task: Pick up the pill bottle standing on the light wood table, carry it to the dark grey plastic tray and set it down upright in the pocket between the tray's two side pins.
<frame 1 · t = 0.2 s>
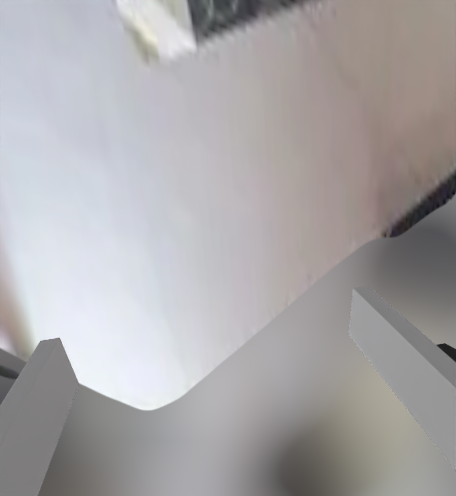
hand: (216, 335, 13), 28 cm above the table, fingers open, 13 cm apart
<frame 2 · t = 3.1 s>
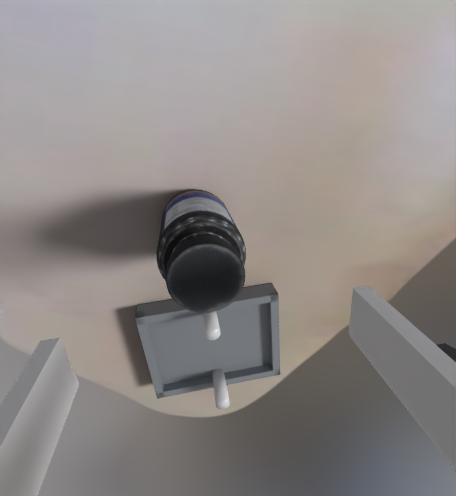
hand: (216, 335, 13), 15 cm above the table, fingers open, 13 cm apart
pill bottle: (195, 220, 27), on the table
tray: (212, 334, 33), on the table
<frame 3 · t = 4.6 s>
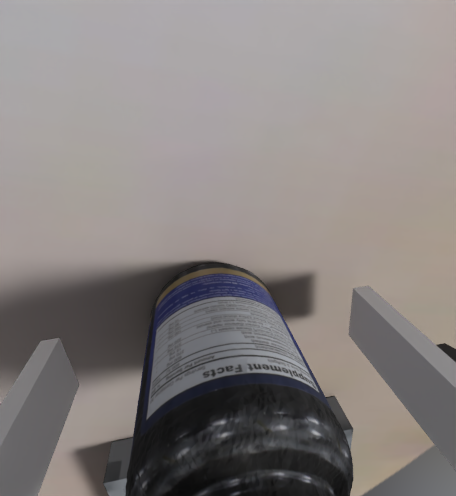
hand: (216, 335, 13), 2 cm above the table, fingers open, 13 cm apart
pill bottle: (212, 310, 15), on the table
tray: (234, 471, 21), on the table
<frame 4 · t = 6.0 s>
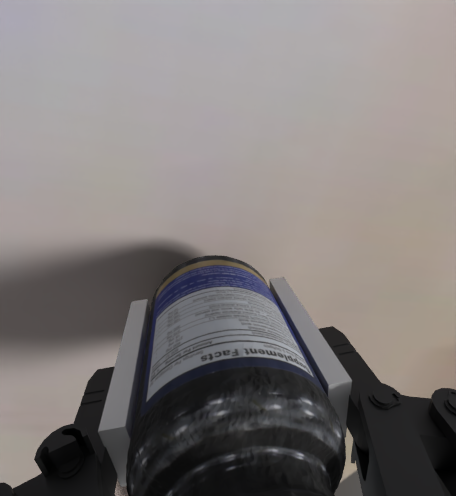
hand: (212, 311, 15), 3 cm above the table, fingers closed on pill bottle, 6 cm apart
pill bottle: (211, 302, 15), point 2 cm above the table, touching gripper
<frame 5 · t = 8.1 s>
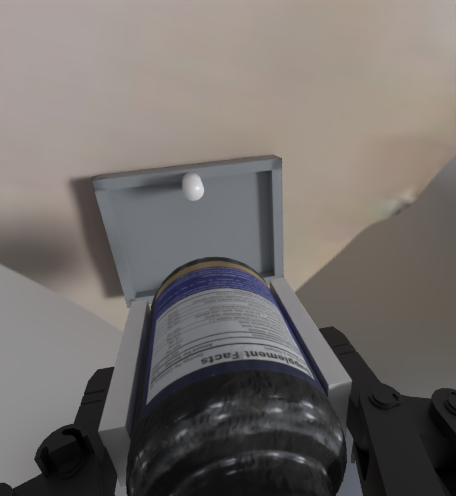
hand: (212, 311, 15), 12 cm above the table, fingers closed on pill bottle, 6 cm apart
pill bottle: (211, 303, 15), point 12 cm above the table, touching gripper
tray: (197, 228, 26), on the table
when the fingers open (3 cm above the table, at t = 10.1 s): pill bottle drops 1 cm, resting on tray.
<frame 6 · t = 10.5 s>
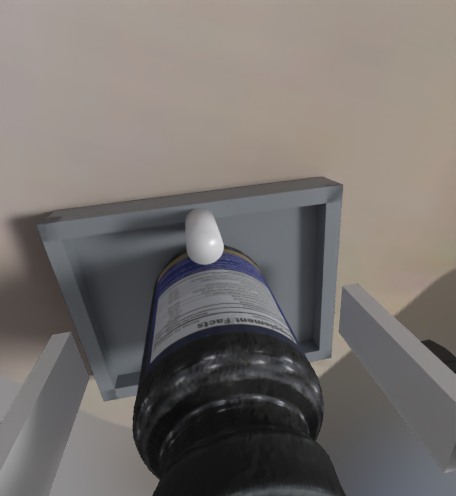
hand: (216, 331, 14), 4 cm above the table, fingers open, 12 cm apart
pill bottle: (209, 288, 17), point 1 cm above the table, touching tray
tray: (207, 283, 18), on the table
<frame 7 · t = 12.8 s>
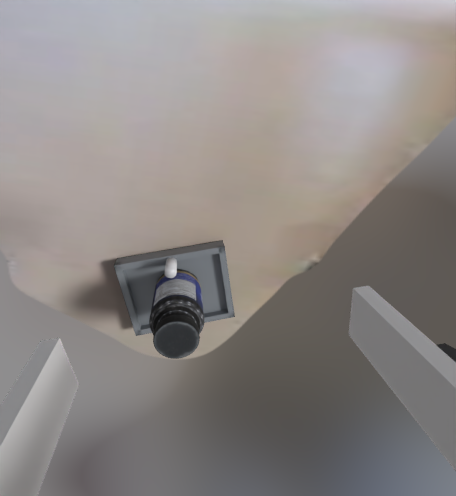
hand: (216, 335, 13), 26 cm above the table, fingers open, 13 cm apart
pill bottle: (178, 286, 40), point 1 cm above the table, touching tray
tray: (178, 284, 41), on the table
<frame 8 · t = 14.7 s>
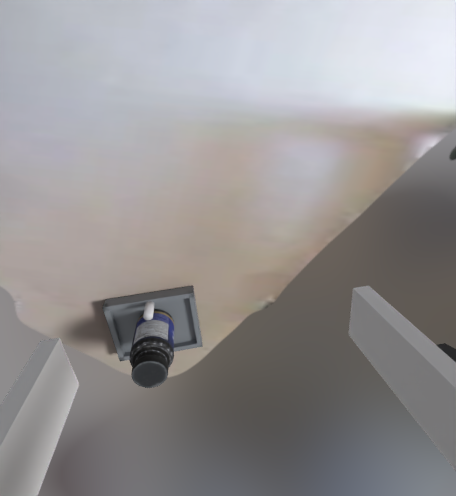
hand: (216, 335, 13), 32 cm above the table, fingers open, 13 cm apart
pill bottle: (155, 322, 49), point 1 cm above the table, touching tray
tray: (156, 319, 50), on the table
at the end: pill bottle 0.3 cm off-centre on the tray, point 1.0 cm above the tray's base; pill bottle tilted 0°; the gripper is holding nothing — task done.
